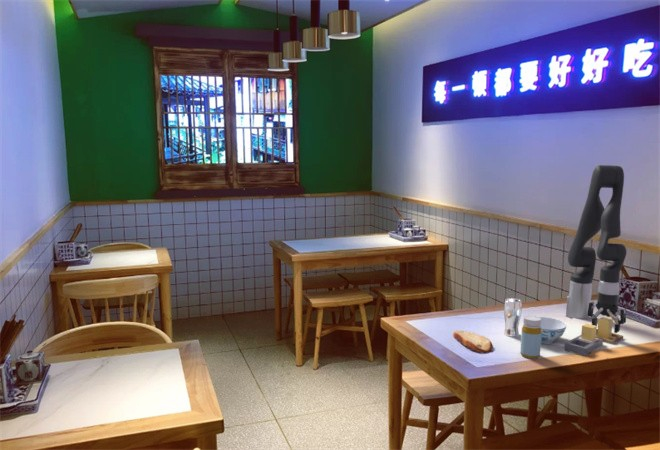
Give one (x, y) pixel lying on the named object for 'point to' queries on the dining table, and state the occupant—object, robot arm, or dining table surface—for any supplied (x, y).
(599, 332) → the butter block
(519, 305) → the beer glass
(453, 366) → the dining table surface
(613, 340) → the tray
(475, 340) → the slice of bread
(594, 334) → the butter dish
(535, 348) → the bottle
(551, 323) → the chinaware
